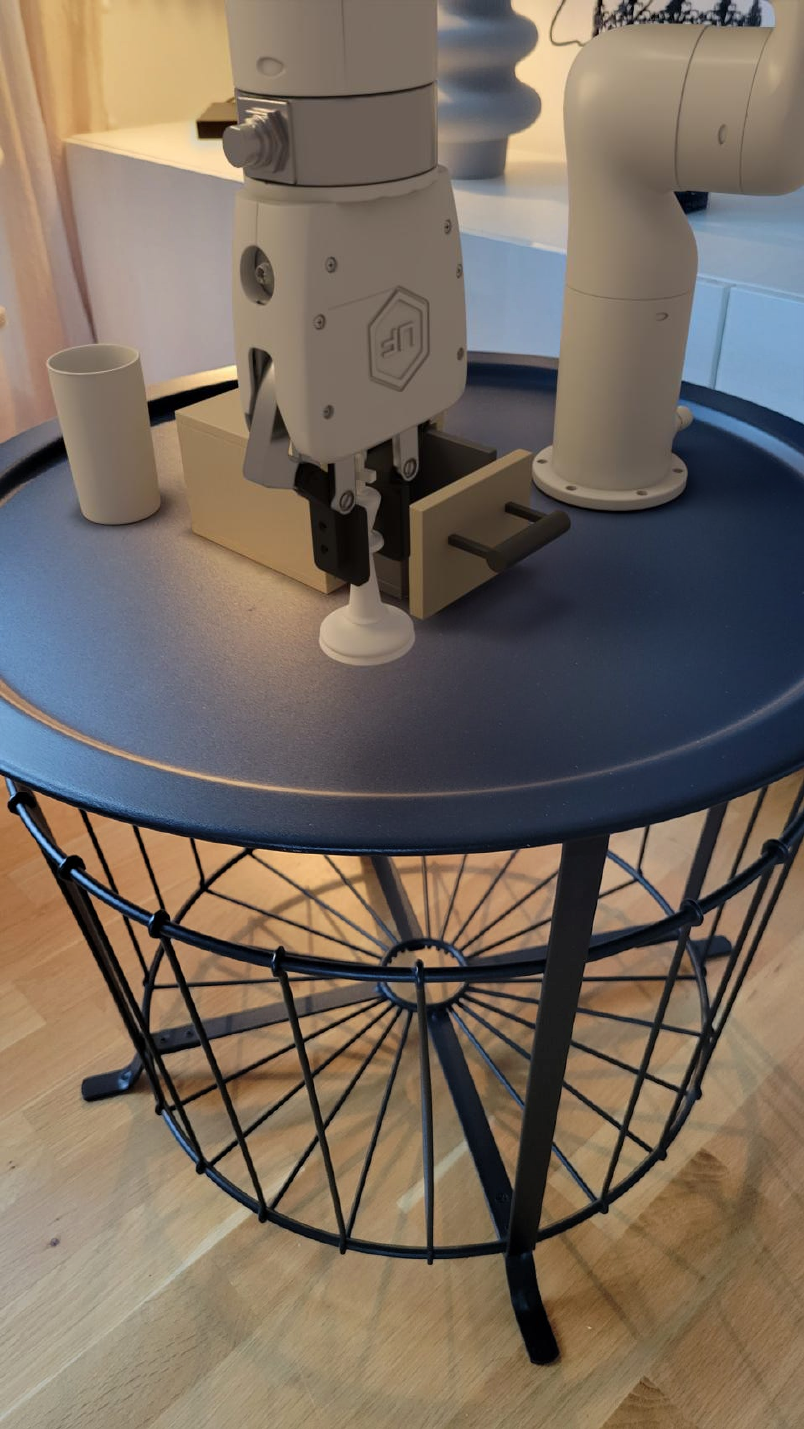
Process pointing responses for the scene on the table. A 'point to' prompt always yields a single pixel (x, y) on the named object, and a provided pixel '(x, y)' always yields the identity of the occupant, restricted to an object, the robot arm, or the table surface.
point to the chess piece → (367, 604)
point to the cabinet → (245, 494)
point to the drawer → (465, 522)
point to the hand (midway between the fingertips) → (362, 560)
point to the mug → (106, 431)
